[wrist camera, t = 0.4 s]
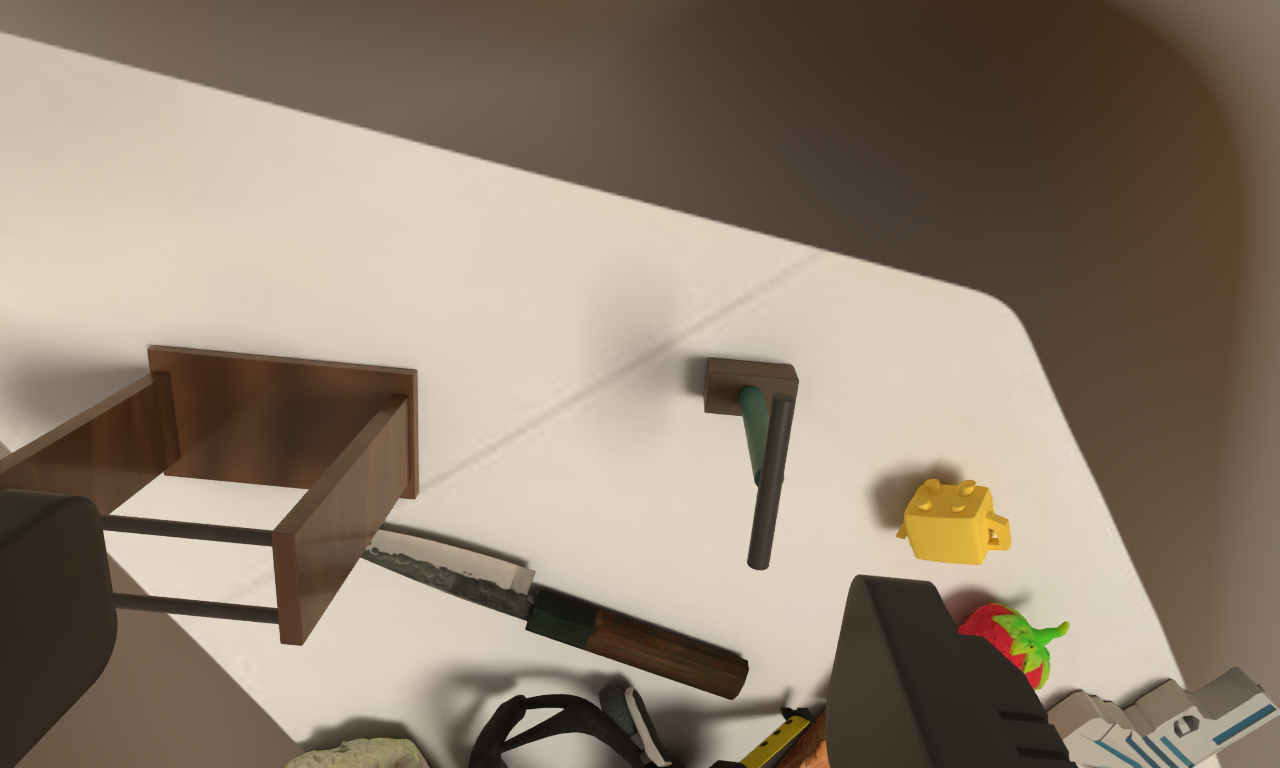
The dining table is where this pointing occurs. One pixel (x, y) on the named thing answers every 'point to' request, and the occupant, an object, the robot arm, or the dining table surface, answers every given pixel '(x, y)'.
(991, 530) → the yellow studded block
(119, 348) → the dining table surface
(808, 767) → the wooden plank
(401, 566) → the kitchen knife
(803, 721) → the tape measure
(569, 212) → the dining table surface
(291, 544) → the wooden rack
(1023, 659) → the strawberry
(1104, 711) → the toy gun
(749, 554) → the green t-shaped stand
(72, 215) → the dining table surface
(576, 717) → the virtual reality headset
